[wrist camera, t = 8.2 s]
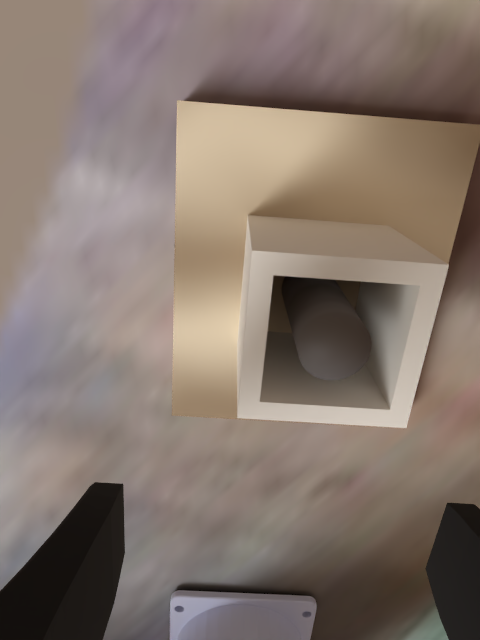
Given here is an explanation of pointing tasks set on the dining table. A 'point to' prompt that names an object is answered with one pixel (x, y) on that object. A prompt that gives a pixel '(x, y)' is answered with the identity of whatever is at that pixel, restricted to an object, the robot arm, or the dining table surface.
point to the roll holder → (299, 203)
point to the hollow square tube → (372, 308)
